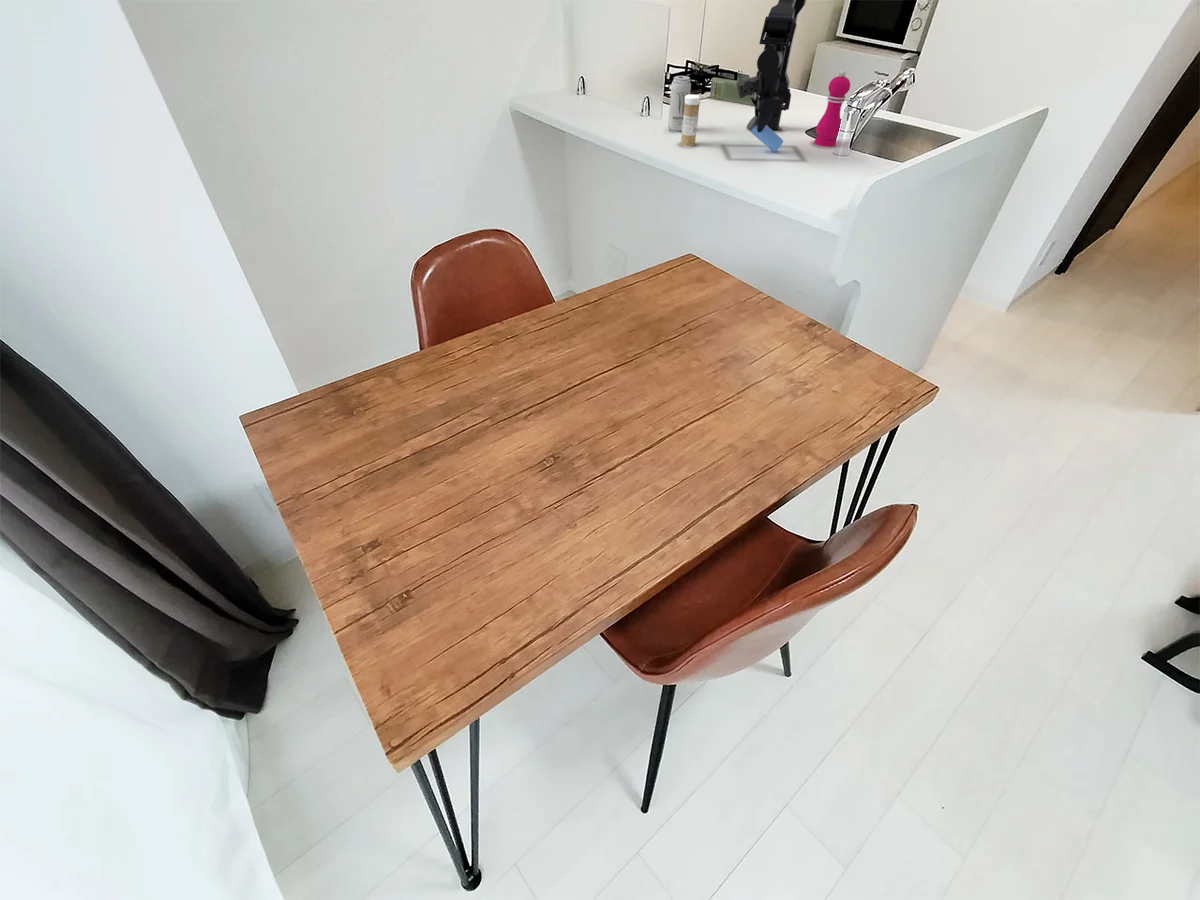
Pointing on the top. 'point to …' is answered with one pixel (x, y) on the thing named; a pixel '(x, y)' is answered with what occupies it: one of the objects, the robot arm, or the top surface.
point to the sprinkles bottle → (690, 119)
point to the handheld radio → (727, 91)
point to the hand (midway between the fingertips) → (757, 129)
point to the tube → (765, 135)
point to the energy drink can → (678, 102)
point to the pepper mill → (832, 111)
